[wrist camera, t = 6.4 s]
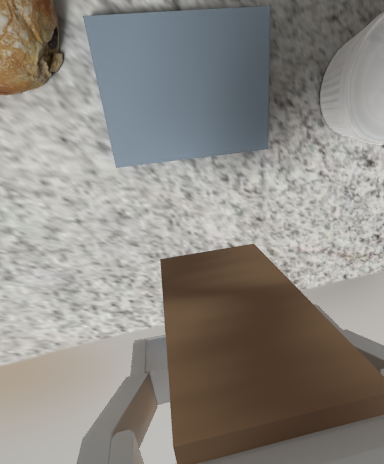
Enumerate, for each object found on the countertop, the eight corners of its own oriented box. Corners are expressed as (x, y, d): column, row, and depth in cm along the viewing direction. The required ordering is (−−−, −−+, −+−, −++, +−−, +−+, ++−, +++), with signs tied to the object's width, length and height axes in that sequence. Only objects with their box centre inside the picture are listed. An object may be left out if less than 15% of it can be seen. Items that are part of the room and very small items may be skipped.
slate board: (118, 166, 25) (116, 167, 24) (87, 24, 20) (82, 15, 19) (261, 148, 27) (267, 149, 25) (262, 14, 22) (270, 5, 21)
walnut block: (173, 333, 14) (197, 550, 7) (160, 259, 12) (173, 447, 5) (254, 317, 14) (360, 501, 7) (253, 243, 13) (397, 390, 5)
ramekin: (398, 5, 24) (462, -30, 19) (406, 117, 28) (459, 112, 23) (298, 56, 24) (335, 35, 19) (320, 159, 28) (355, 163, 24)
